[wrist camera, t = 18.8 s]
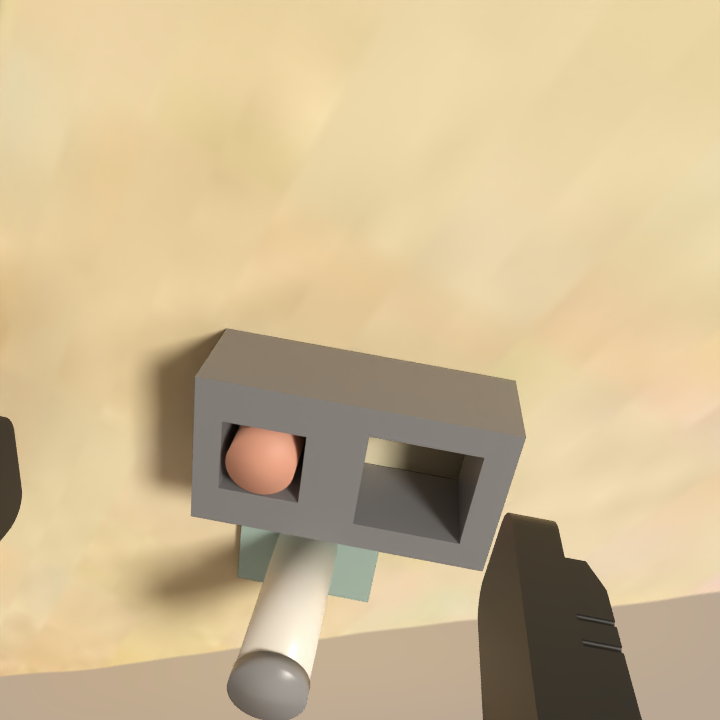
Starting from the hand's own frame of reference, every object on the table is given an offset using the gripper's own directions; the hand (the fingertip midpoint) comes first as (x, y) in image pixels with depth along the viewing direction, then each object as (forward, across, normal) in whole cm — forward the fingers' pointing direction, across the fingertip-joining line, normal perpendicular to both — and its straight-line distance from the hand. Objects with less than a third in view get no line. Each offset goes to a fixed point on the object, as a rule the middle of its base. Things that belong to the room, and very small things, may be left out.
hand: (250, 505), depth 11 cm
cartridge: (+27, +1, +28) cm, 39 cm away
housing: (+28, -1, +17) cm, 33 cm away
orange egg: (+28, +4, +17) cm, 33 cm away
